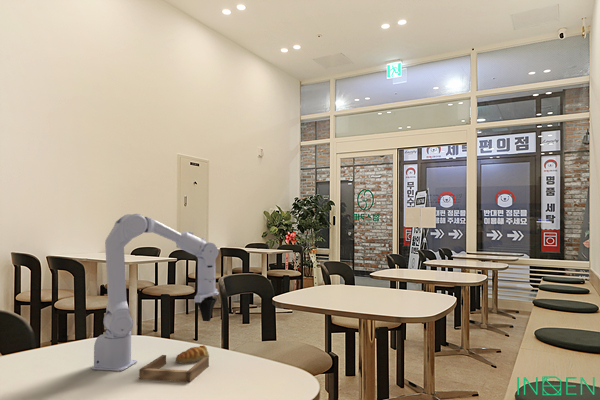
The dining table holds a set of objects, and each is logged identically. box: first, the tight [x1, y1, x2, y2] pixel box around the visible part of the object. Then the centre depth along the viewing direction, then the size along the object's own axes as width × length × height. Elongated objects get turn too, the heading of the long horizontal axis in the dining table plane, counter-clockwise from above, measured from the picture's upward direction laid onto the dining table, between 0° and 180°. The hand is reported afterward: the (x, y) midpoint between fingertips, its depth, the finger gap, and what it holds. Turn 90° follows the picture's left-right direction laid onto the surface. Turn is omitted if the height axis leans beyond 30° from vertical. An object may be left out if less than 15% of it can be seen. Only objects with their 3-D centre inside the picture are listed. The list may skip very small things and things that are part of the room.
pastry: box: [175, 345, 210, 365], centre depth 126 cm, size 9×7×4 cm
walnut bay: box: [138, 354, 210, 383], centre depth 115 cm, size 14×12×2 cm
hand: (206, 320), depth 137 cm, fingers closed
